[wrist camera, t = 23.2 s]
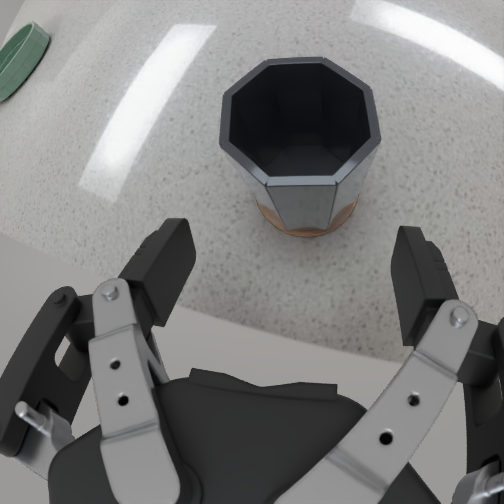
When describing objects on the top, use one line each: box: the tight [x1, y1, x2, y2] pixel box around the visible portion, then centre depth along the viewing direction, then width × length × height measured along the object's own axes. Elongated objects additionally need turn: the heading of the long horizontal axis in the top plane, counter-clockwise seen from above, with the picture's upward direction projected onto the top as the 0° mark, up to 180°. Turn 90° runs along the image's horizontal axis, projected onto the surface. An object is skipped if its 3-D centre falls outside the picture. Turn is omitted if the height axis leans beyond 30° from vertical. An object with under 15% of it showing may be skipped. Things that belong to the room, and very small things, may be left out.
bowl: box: [0, 21, 49, 102], centre depth 29 cm, size 14×14×5 cm
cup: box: [219, 57, 381, 231], centre depth 14 cm, size 6×6×8 cm
